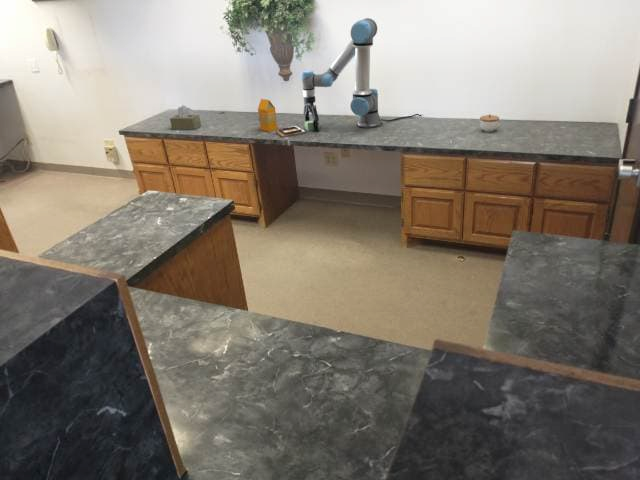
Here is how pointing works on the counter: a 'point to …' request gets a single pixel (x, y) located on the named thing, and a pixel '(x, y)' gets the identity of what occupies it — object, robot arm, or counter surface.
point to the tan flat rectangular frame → (289, 131)
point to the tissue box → (185, 120)
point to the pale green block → (310, 125)
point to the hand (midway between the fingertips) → (311, 128)
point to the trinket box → (489, 122)
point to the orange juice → (267, 116)
